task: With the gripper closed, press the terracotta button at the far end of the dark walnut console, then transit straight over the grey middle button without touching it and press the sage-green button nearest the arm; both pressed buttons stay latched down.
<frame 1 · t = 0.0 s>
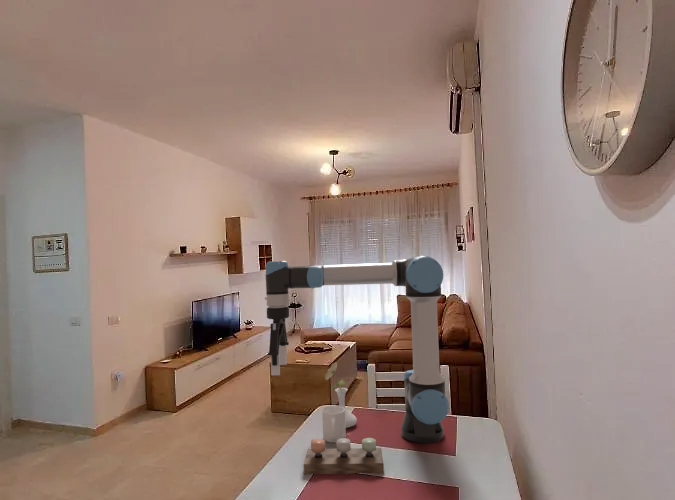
hand: (279, 369, 137), 28 cm above the table, fingers open, 13 cm apart
grey button: (343, 448, 127), point 5 cm above the table, slide at 0.0 cm
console: (344, 465, 127), on the table
mug: (334, 441, 145), on the table
sage button: (369, 447, 127), point 5 cm above the table, slide at 0.0 cm
terracotta button: (318, 448, 128), point 5 cm above the table, slide at 0.0 cm
flower in vase: (341, 426, 158), on the table
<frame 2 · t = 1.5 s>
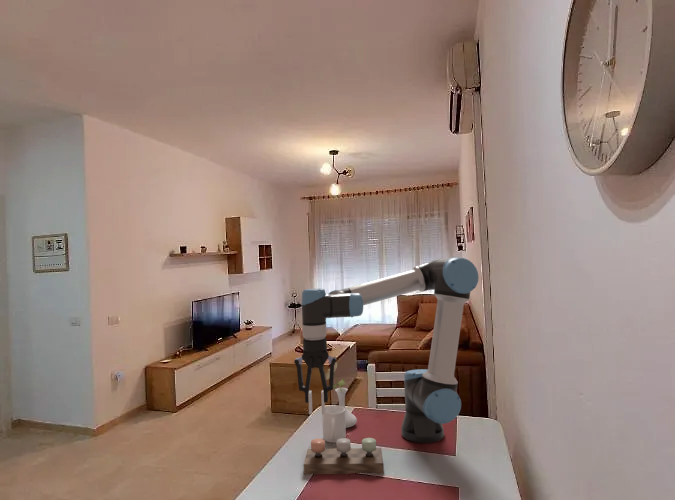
hand: (317, 412, 128), 17 cm above the table, fingers open, 3 cm apart
nothing on the table moved.
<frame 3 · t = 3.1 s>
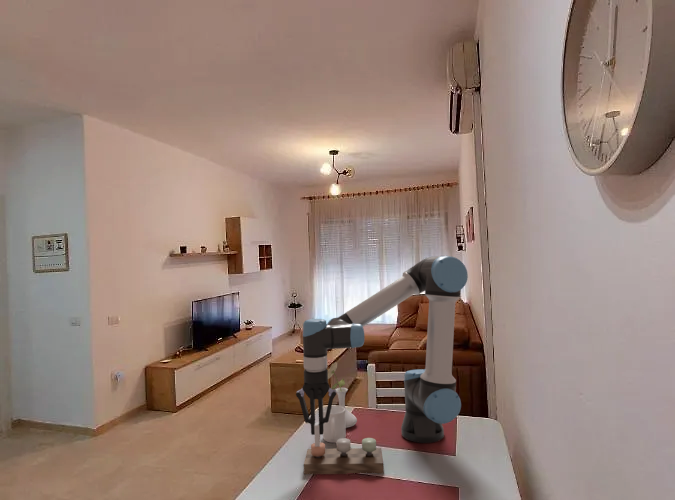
hand: (317, 444, 128), 7 cm above the table, fingers closed
terracotta button: (318, 452, 128), point 4 cm above the table, slide at 1.2 cm, touching gripper
everything else where it was.
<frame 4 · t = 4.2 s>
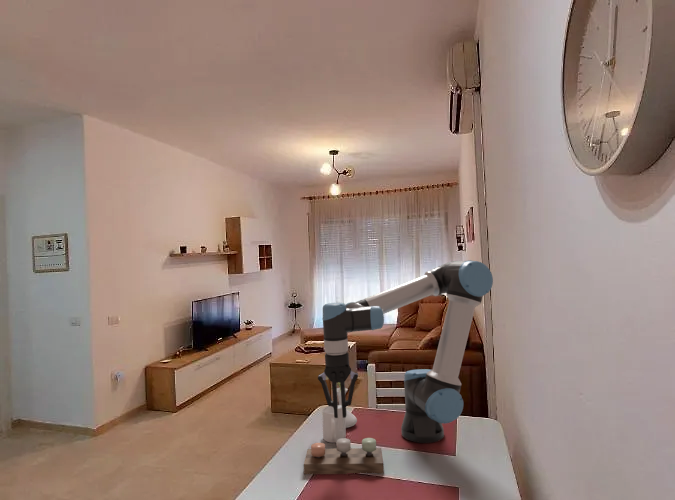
hand: (341, 427, 128), 12 cm above the table, fingers closed
terracotta button: (318, 452, 128), point 4 cm above the table, slide at 1.3 cm
everything else where it was.
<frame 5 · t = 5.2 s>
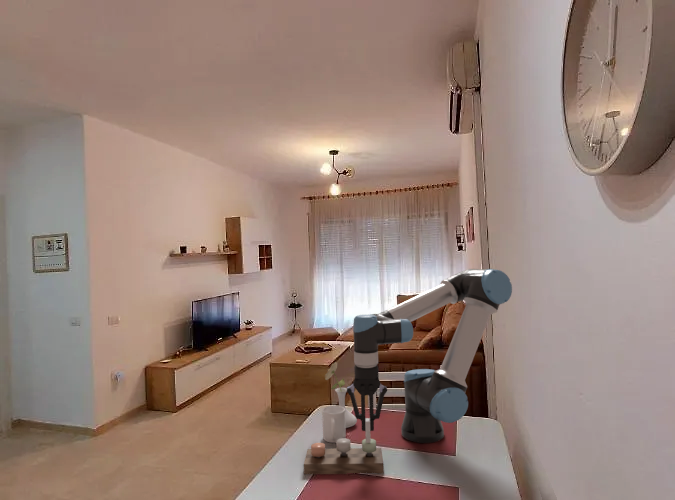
hand: (368, 440, 127), 8 cm above the table, fingers closed
sage button: (369, 448, 127), point 5 cm above the table, slide at 0.2 cm, touching gripper
everything else where it was.
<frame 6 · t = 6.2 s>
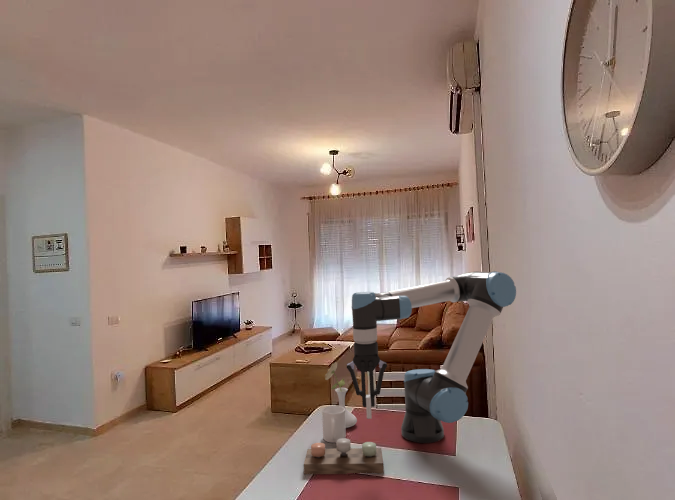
hand: (369, 416, 127), 15 cm above the table, fingers closed
sage button: (369, 451, 127), point 4 cm above the table, slide at 1.3 cm
everything else where it was.
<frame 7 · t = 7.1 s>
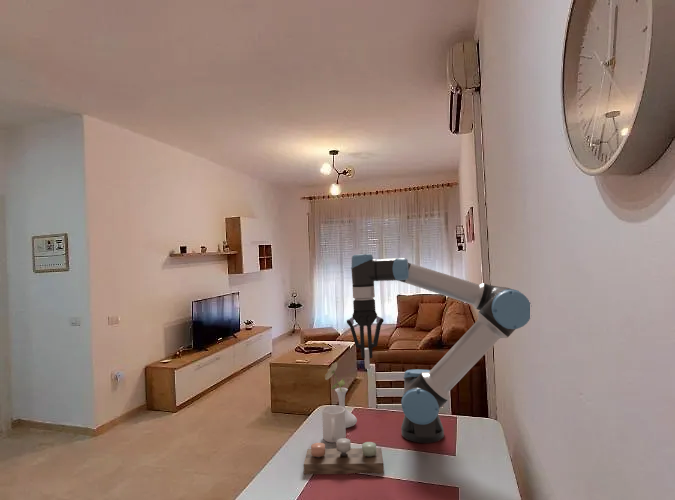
hand: (367, 367, 139), 27 cm above the table, fingers closed
nothing on the table moved.
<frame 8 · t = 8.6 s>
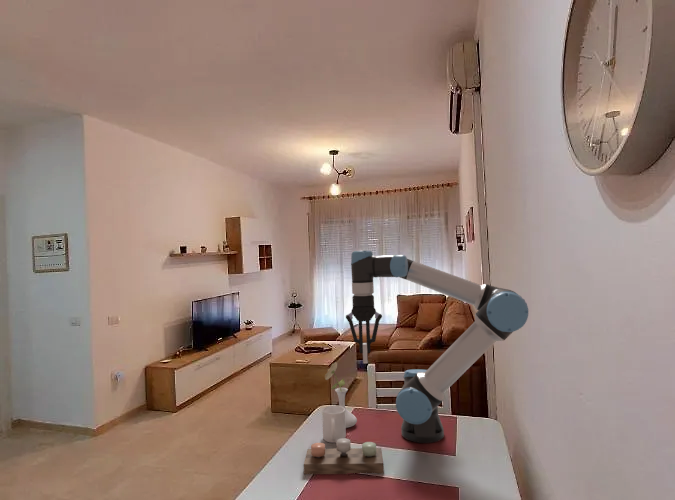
hand: (365, 362, 142), 28 cm above the table, fingers closed
nothing on the table moved.
at the end: terracotta button slide at 1.3 cm; sage button slide at 1.3 cm; grey button slide at 0.0 cm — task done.
